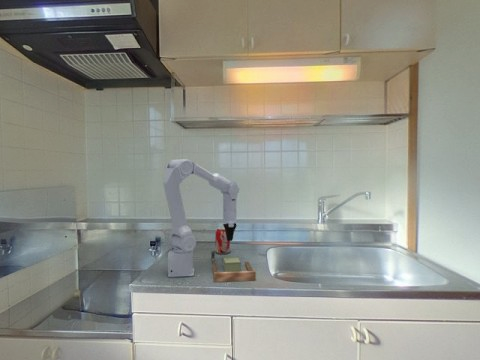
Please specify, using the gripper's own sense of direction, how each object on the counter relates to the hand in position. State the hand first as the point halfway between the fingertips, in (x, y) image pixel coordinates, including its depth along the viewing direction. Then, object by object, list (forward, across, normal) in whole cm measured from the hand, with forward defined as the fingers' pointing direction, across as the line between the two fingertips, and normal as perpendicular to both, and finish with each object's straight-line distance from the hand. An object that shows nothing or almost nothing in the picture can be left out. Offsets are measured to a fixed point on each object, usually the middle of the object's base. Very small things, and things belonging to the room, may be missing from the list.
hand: (229, 240), depth 135 cm
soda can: (+10, +15, +2) cm, 18 cm away
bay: (+9, -13, 0) cm, 16 cm away
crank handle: (+9, +3, +7) cm, 12 cm away
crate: (+10, -10, 0) cm, 14 cm away
